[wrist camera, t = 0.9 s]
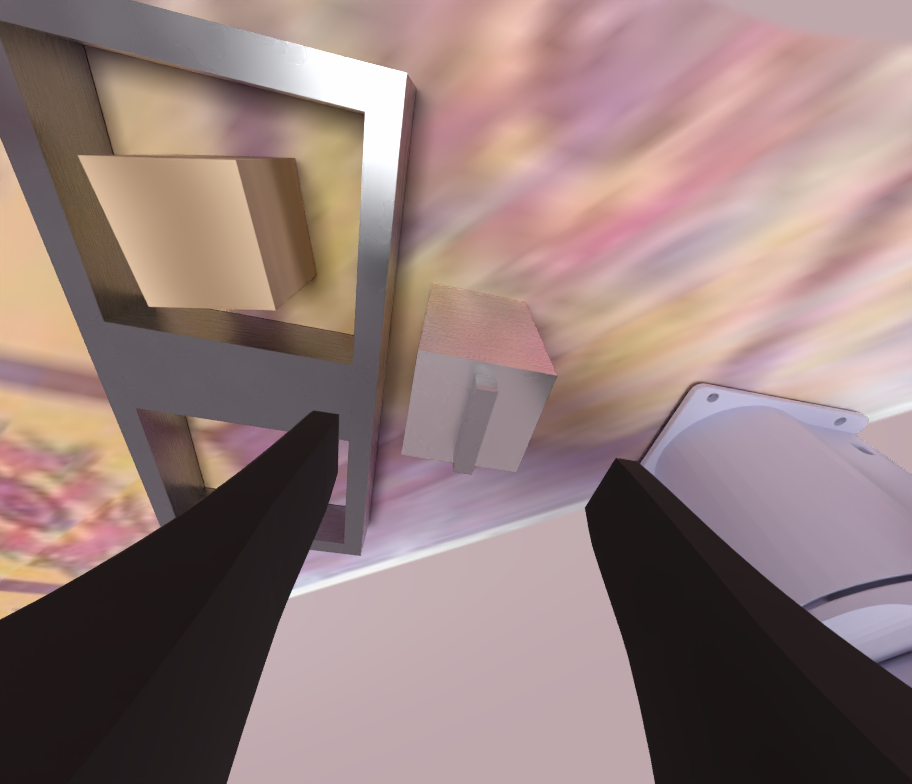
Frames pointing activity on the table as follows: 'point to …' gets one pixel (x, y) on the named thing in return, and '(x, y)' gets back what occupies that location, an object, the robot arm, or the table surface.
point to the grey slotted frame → (201, 329)
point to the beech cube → (207, 227)
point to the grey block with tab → (476, 381)
